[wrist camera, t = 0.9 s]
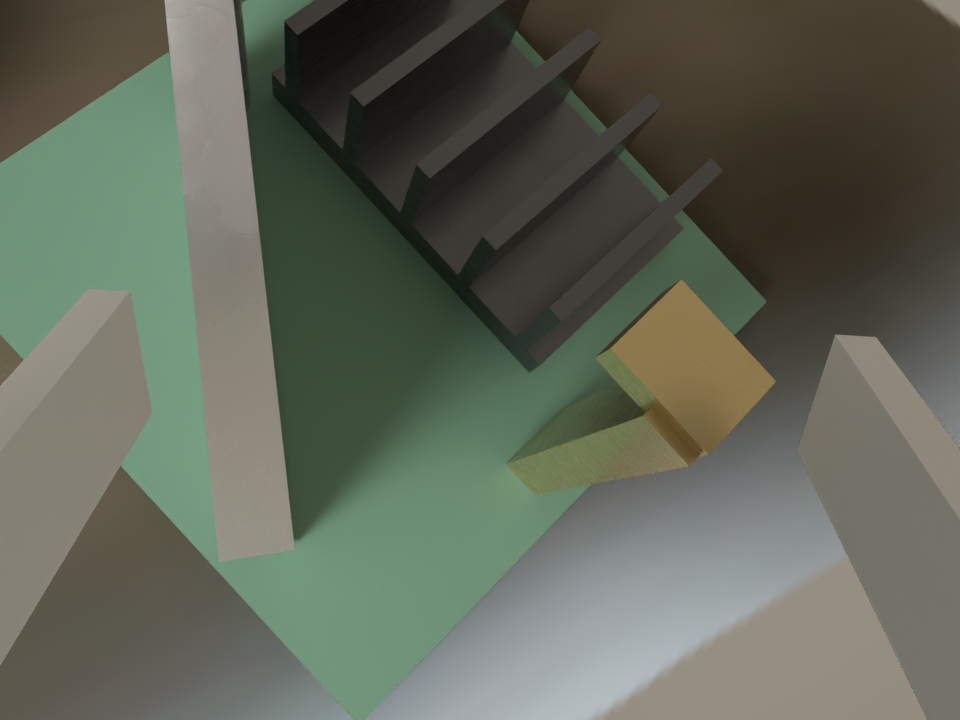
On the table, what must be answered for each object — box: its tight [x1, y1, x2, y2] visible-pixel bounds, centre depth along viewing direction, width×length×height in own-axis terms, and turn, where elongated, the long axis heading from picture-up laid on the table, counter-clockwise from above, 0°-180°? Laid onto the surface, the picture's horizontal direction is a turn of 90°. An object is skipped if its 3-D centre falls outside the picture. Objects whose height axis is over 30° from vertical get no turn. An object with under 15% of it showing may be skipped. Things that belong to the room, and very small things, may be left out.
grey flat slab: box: [165, 0, 295, 562], centre depth 24 cm, size 15×2×11 cm, turn 9°
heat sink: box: [233, 0, 776, 495], centre depth 26 cm, size 19×11×13 cm, turn 44°
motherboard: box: [0, 0, 767, 720], centre depth 31 cm, size 22×22×2 cm
